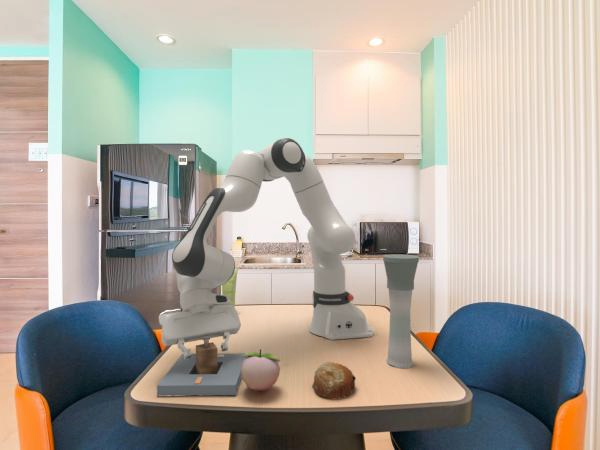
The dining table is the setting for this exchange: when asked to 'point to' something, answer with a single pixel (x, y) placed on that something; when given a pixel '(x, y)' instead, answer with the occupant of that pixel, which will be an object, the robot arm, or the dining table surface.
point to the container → (400, 307)
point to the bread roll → (333, 380)
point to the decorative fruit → (260, 370)
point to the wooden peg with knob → (206, 358)
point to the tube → (230, 288)
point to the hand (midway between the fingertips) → (207, 353)
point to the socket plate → (203, 377)
